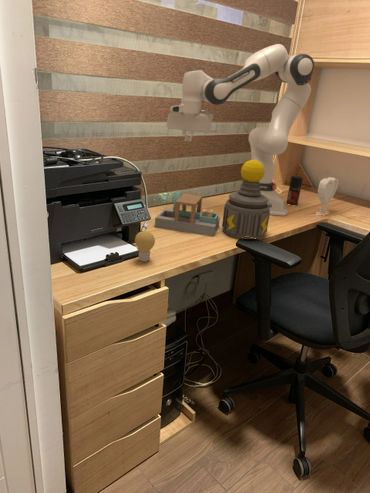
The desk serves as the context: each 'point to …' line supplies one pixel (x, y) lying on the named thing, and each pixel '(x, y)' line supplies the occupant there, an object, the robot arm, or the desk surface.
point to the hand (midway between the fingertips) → (187, 141)
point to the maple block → (207, 213)
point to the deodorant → (294, 190)
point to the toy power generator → (247, 205)
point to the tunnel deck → (186, 223)
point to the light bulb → (144, 244)
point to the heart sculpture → (326, 192)
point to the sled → (197, 215)
